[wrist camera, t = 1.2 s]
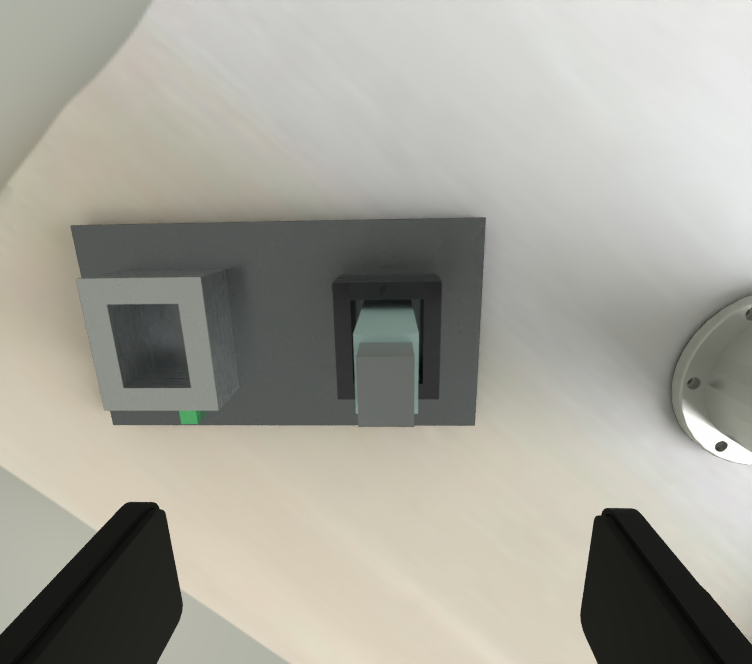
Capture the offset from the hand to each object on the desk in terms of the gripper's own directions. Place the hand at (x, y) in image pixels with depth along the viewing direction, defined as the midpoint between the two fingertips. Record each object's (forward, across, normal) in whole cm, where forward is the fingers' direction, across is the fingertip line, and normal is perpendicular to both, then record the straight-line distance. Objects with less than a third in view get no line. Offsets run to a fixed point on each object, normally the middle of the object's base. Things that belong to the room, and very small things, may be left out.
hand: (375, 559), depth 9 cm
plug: (+19, 0, 0) cm, 19 cm away
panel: (+20, +7, 0) cm, 21 cm away
